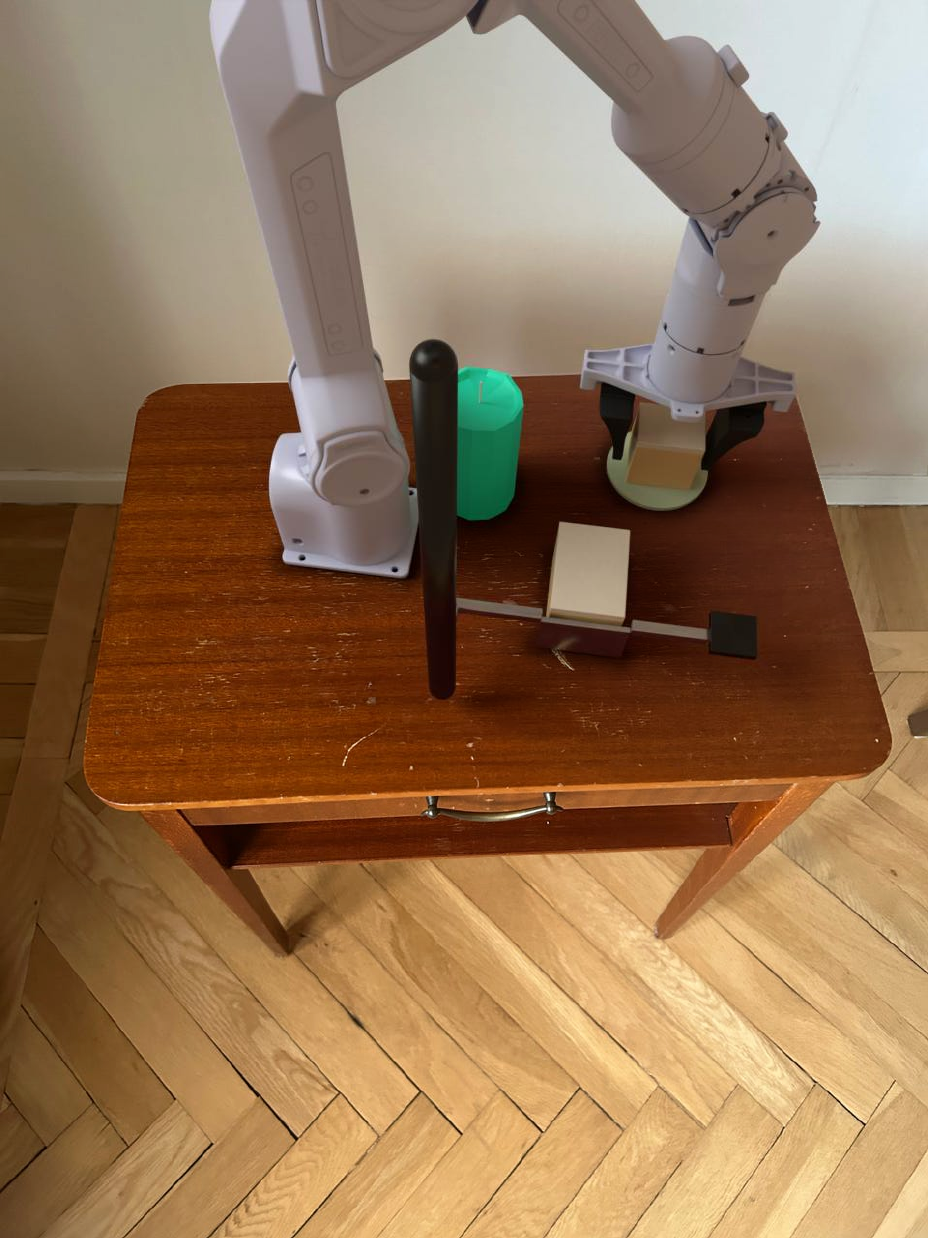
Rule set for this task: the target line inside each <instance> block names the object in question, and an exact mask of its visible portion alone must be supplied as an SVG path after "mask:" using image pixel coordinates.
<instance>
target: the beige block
mask: <svg viewBox="0 0 928 1238" xmlns="http://www.w3.org/2000/svg"><path fill="white" fill-rule="evenodd" d="M706 429H707V411H704V414H703V416H702V419H701V421H700V422H698V423H691V422H683V421H677V420H674V419H673V418H672V417H671V409H670V408H669V407H666V406H664V405H661V404H659V403H652V402H642V401H640V402H639V404H638V407H637V411H636V415H635V418H634V422H633V426H632V429H631V431H632V432H631V431H630V432H631V436H630V440H629V443H628V455H627V471H626V483H634V484H643V485H651V486H659V487H668V488H676V489H685V490H689V489H690V487H691V484H692V482H693V479H694V477H695V474H696V472H697V469H698V467H699V464H700V462H701V459H702V457H703V454H704V452H705V443H706V434H707V430H706Z"/></svg>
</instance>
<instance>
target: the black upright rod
mask: <svg viewBox="0 0 928 1238" xmlns="http://www.w3.org/2000/svg"><path fill="white" fill-rule="evenodd" d="M458 360H459V359H458V355H457V354H456V352H455V350H454V348H453V347H452V346H451V345H450V344H449V343H448V342H445V341H444V340H441V339H439V338H428V339H425V340H423V341H421V342H419V343H417V344H416V345H415V347H414V348H413V350H412V351H411V353H410V356H409V362H408V368H409V369H408V371H409V386H410V403H411V404H410V405H411V417H412V418H411V419H412V420H411V421H412V435H413V451H414V452H413V453H414V468H415V482H416V488H417V501H418V517H419V522H418V530H419V533H418V534H419V547H420V563H421V578H422V580H421V581H422V597H423V611H424V614H423V615H424V624H425V625H424V628H425V644H426V645H425V646H426V660H427V676H428V690H429V692H430V694H431V696H432V697H433V698H435V699H437V700H438V701H439V700H440V701H445V700H449V699H450V698H451V697H453V696H454V694H455V693H456V689H457V622H458V617H459V614H465V615H472V616H479V617H487V618H496V619H503V620H511V621H519V622H520V621H521V622H525V623H526V622H527V623H533V624H534V623H535V624H539V628H538V633H537V638H536V643H535V647H536V648H541V649H542V648H543V649H549V650H557V651H564V652H565V651H566V652H574V653H581V654H589V655H594V656H595V655H597V656H603V657H610V658H621V657H622V654H623V652H624V649H625V646H626V644H627V641H628V640H629V636H633V637H634V636H636V637H643V638H651V639H658V640H665V641H666V640H667V641H675V642H682V643H689V644H690V643H691V644H696V645H697V644H699V645H706V644H707V642H708V655H711V656H718V657H719V656H721V657H725V658H736V659H743V660H750V661H755V660H757V658H758V622H757V619H758V616H757V615H750V614H741V613H735V612H734V613H733V612H727V611H720V610H719V611H718V610H711V611H710V612H709V613H708V628H701V627H700V628H699V627H694V626H685V625H678V624H671V623H663V622H662V623H661V622H655V621H646V620H638V619H632V622H631V624H630V627H628V626H613V625H605V624H597V623H590V622H582V621H574V620H566V619H558V618H550V617H546V616H543V608H541V607H533V606H527V605H517V604H511V603H503V602H495V601H487V600H479V599H472V598H465V597H464V598H463V597H457V592H458V591H457V582H458V581H457V579H458V578H457V575H458V574H457V573H458V571H457V569H458V566H457V565H458V561H457V560H458V515H457V453H458V371H459V361H458Z"/></svg>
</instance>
